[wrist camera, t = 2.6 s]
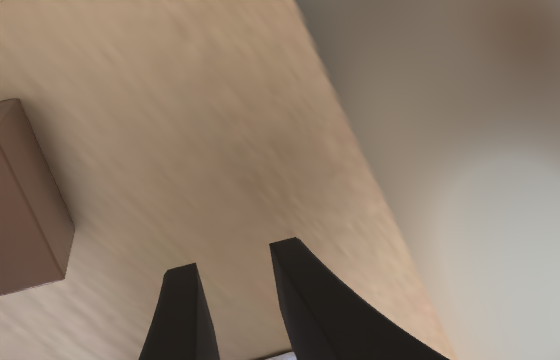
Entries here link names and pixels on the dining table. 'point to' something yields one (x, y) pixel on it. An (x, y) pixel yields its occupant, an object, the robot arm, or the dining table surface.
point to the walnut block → (29, 209)
